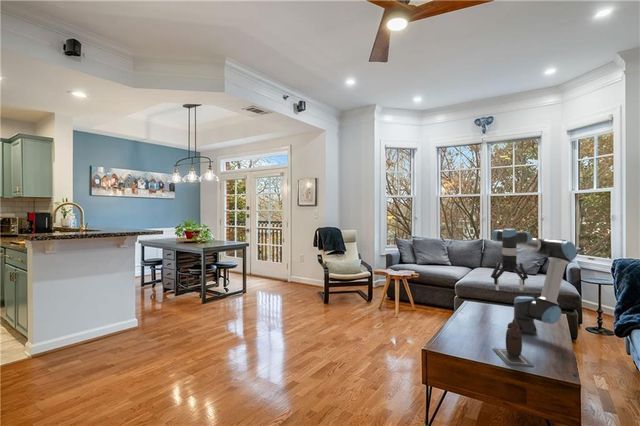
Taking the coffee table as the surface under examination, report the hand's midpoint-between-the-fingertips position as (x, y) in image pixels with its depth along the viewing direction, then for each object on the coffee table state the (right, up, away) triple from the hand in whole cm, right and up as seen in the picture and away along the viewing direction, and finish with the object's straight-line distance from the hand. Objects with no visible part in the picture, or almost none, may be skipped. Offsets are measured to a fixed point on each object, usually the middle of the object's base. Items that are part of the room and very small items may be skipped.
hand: (509, 290), depth 200 cm
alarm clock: (-8, -33, -17) cm, 37 cm away
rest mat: (-8, -33, -17) cm, 38 cm away
